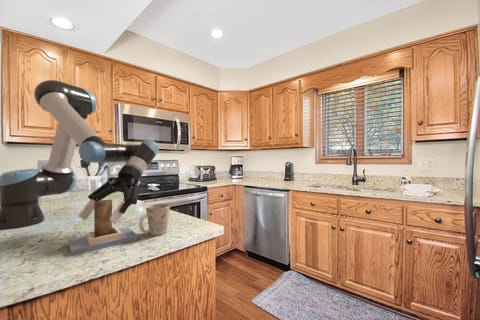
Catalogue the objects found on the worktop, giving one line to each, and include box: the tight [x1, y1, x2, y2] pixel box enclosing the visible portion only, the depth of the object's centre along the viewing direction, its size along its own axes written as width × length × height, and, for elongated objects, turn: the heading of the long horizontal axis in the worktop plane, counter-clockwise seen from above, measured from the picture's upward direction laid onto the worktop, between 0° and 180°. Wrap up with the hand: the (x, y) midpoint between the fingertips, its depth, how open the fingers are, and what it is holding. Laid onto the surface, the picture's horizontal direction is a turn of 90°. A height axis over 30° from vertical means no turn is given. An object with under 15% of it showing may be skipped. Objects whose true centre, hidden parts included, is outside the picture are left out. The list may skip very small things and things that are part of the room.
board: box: [67, 226, 139, 256], centre depth 72 cm, size 12×18×3 cm, turn 132°
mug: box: [138, 203, 171, 236], centre depth 79 cm, size 8×13×10 cm, turn 158°
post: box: [93, 199, 113, 238], centre depth 72 cm, size 5×5×12 cm
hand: (96, 219), depth 70 cm, fingers open, 13 cm apart
